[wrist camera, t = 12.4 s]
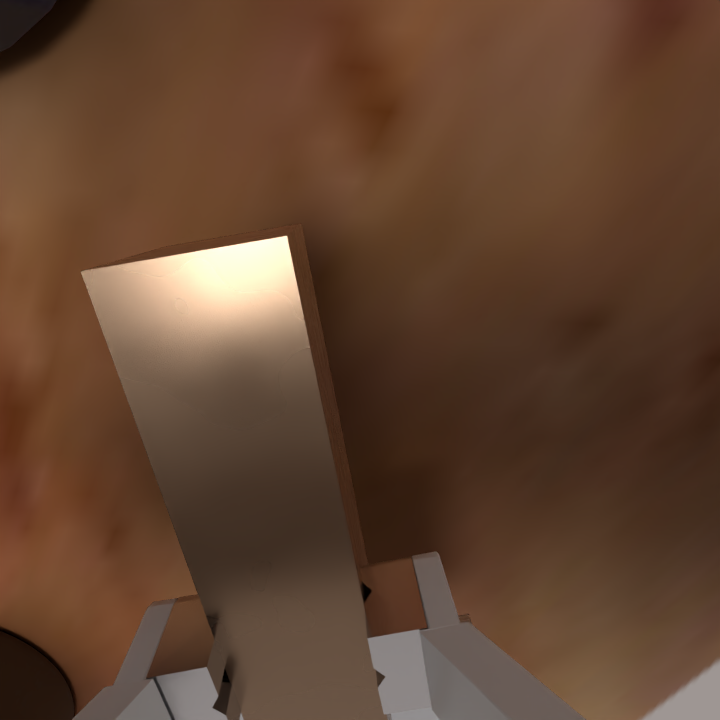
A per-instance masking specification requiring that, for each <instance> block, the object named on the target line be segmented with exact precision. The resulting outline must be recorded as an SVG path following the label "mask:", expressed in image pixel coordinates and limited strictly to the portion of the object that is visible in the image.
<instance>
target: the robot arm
mask: <svg viewBox="0 0 720 720" xmlns="http://www.w3.org/2000/svg"><path fill="white" fill-rule="evenodd" d="M361 570H362V582H363V587H364V592H365V597H366V601H365V603H364V605H365V619H366V629H367V639H368V644H369V649H370V653H371V658H372V663H373V668H374V669H375V670H376V676H377V686H378V691H379V696H380V700H381V704H382V709H383V713H384V714H391V713H398V712H405V711H411V710H418V709H425V708H432V711H433V712H434V713H435V714H436V716H437V717H438V718H439V719H440V720H586V719H585V718H583V717H582V716H581V715H580V714H579V713H577V712H576V711H575V710H574V709H573V708H571V707H570V706H569V705H568V704H567V703H565V702H564V701H563V700H562V699H561V698H559V697H558V696H557V695H556V694H555V693H553V692H552V691H551V690H550V689H549V688H547V687H546V686H545V685H544V684H543V683H541V682H540V681H539V680H538V679H537V678H535V677H534V676H533V675H532V674H531V673H529V672H528V671H527V670H526V669H525V668H523V667H522V666H521V665H520V664H519V663H517V662H516V661H515V660H514V659H513V658H511V657H510V656H509V655H508V654H507V653H505V652H504V651H503V650H502V649H501V648H499V647H498V646H497V645H496V644H495V643H493V642H492V641H491V640H490V639H489V638H487V637H486V636H485V635H484V634H483V633H481V632H480V631H479V630H478V629H476V628H475V627H474V626H473V625H472V624H470V623H469V622H465V623H460V620H459V617H458V614H457V610H456V607H455V604H454V601H453V598H452V594H451V591H450V588H449V585H448V582H447V578H446V575H445V572H444V569H443V566H442V562H441V559H440V556H439V554H438V553H437V552H436V551H435V552H430V553H425V554H420V555H414V556H412V558H411V556H410V557H405V558H400V559H395V560H389V561H384V562H379V563H373V564H368V565H363V566H362V568H361ZM240 714H241V708H240V705H239V702H238V699H237V697H236V694H235V691H234V688H233V685H232V684H231V683H230V681H229V678H228V675H227V673H226V670H225V663H224V661H223V658H222V655H221V653H220V650H219V647H218V645H217V642H216V639H215V637H213V634H212V631H211V628H210V626H209V623H208V620H207V617H206V615H205V612H204V609H203V606H202V604H201V601H200V598H199V595H198V594H197V595H191V596H184V597H179V598H175V599H168V600H161V601H155V602H153V603H152V604H151V605H150V606H149V607H148V608H147V610H146V612H145V614H144V616H143V619H142V621H141V623H140V625H139V628H138V630H137V632H136V634H135V637H134V639H133V641H132V644H131V646H130V648H129V650H128V653H127V655H126V657H125V659H124V662H123V664H122V666H121V668H120V671H119V673H118V675H117V677H116V680H115V682H114V684H113V686H109V687H104V688H103V689H102V690H101V691H100V692H99V693H98V694H97V695H96V696H95V697H94V698H93V699H92V700H91V701H90V702H89V703H88V704H87V705H86V706H85V707H84V708H83V709H82V710H81V711H80V712H79V713H78V714H77V715H76V716H75V717H74V718H73V719H72V720H240Z"/></svg>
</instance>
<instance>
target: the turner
mask: <svg viewBox="0 0 720 720" xmlns="http://www.w3.org/2000/svg"><path fill="white" fill-rule="evenodd" d="M81 274H82V276H83V279H84V282H85V285H86V287H87V290H88V293H89V296H90V298H91V301H92V304H93V307H94V309H95V312H96V315H97V318H98V320H99V323H100V326H101V329H102V331H103V334H104V337H105V340H106V342H107V345H108V348H109V351H110V353H111V356H112V359H113V362H114V364H115V367H116V370H117V373H118V375H119V378H120V381H121V384H122V386H123V389H124V392H125V395H126V397H127V400H128V403H129V406H130V408H131V411H132V414H133V417H134V419H135V422H136V425H137V428H138V430H139V433H140V436H141V439H142V441H143V444H144V447H145V450H146V452H147V455H148V458H149V461H150V463H151V466H152V469H153V472H154V474H155V477H156V480H157V483H158V485H159V488H160V491H161V494H162V496H163V499H164V502H165V505H166V507H167V510H168V513H169V516H170V518H171V521H172V524H173V527H174V529H175V532H176V535H177V538H178V540H179V543H180V546H181V549H182V551H183V554H184V557H185V560H186V562H187V565H188V568H189V571H190V573H191V576H192V579H193V582H194V584H195V587H196V590H197V593H198V595H199V598H200V601H201V604H202V606H203V609H204V612H205V615H206V617H207V620H208V623H209V626H210V628H211V631H212V634H213V637H215V639H216V642H217V645H218V647H219V650H220V653H221V655H222V658H223V661H224V663H225V670H226V673H227V675H228V678H229V681H230V683H231V684H232V685H233V688H234V691H235V694H236V697H237V699H238V702H239V705H240V708H241V714H240V720H440V719H439V718H438V717H437V716H436V714H435V713H434V712H433V711H432V708H425V709H418V710H411V711H405V712H398V713H391V714H384V713H383V709H382V704H381V700H380V696H379V691H378V686H377V676H376V670H375V669H374V668H373V663H372V658H371V653H370V649H369V644H368V639H367V629H366V619H365V605H364V603H365V601H366V597H365V592H364V587H363V582H362V570H361V568H362V566H363V565H368V560H367V555H366V550H365V545H364V540H363V535H362V529H361V524H360V519H359V514H358V509H357V504H356V499H355V494H354V489H353V484H352V478H351V473H350V468H349V463H348V458H347V453H346V448H345V443H344V438H343V433H342V427H341V422H340V417H339V412H338V407H337V402H336V397H335V392H334V387H333V382H332V376H331V371H330V366H329V361H328V356H327V351H326V346H325V341H324V336H323V331H322V325H321V320H320V315H319V310H318V305H317V300H316V295H315V290H314V285H313V280H312V274H311V269H310V264H309V259H308V254H307V249H306V244H305V239H304V234H303V229H302V223H300V224H294V225H288V226H283V227H277V228H271V229H265V230H259V231H253V232H248V233H242V234H236V235H230V236H224V237H219V238H213V239H207V240H201V241H195V242H189V243H184V244H178V245H172V246H166V247H162V248H159V249H155V250H152V251H148V252H145V253H142V254H138V255H135V256H131V257H128V258H125V259H121V260H118V261H114V262H111V263H107V264H104V265H101V266H97V267H94V268H90V269H87V270H83V271H81ZM458 617H459V620H460V623H465V622H469V623H470V624H472V623H471V620H470V617H469V614H466V615H460V616H458Z"/></svg>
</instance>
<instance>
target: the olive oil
mask: <svg viewBox="0 0 720 720" xmlns="http://www.w3.org/2000/svg"><path fill="white" fill-rule="evenodd" d="M73 718H74V702H73V698H72V694H71V692H70V689H69V687H68V685H67V683H66V681H65V679H64V678H63V676H62V675H61V673H60V672H59V671H58V669H57V668H56V667H55V666H54V665H53V664H52V663H51V662H50V661H49V660H48V659H47V658H46V657H45V656H43V655H42V654H41V653H40V652H38V651H37V650H35V649H34V648H32V647H31V646H29V645H28V644H26V643H24V642H23V641H21V640H19V639H17V638H15V637H13V636H11V635H8V634H6V633H3V632H1V631H0V720H72V719H73Z"/></svg>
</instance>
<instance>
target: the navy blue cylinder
mask: <svg viewBox="0 0 720 720" xmlns="http://www.w3.org/2000/svg"><path fill="white" fill-rule="evenodd" d="M56 1H57V0H0V52H1V51H4V50H6V49H8V48H10V47H11V46H12V45H13V44H14V43H16V42H17V41H18V40H19V39H20V38H21V37H22V36H23V35H24V34H25V33H26V32H27V31H29V30H30V29H31V28H32V27H33V26H34V25H35V24H36V23H37V22H38V21H39V20H40V19H42V18H43V17H44V16H45V15H46V14H47V13H48V12H49V11H50V10H51V9H52V7H53V6H54V4H55V2H56Z"/></svg>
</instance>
